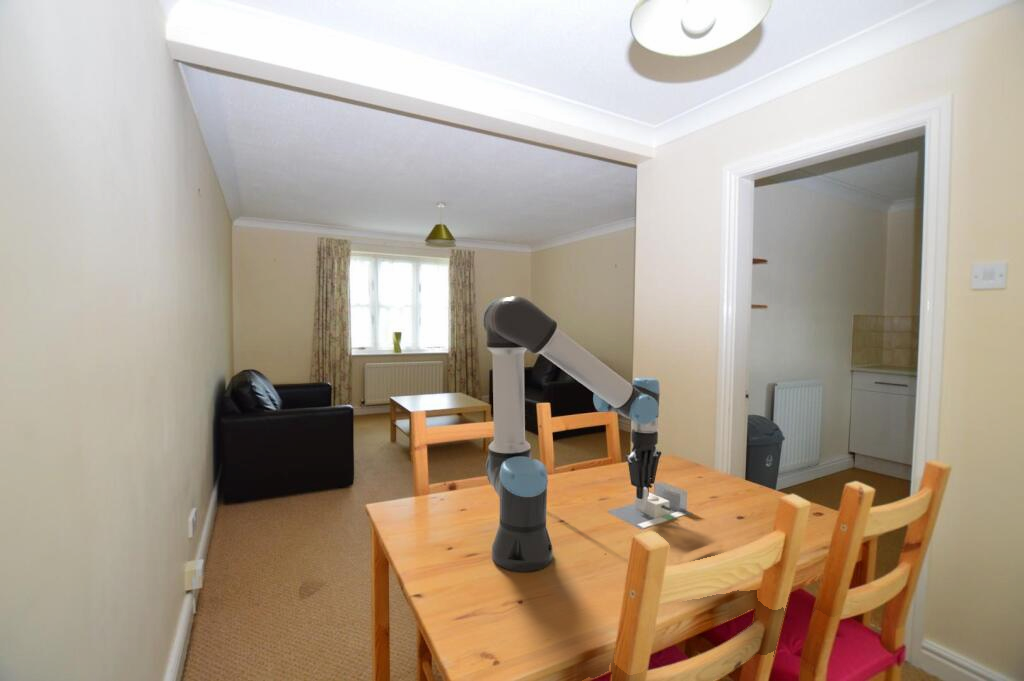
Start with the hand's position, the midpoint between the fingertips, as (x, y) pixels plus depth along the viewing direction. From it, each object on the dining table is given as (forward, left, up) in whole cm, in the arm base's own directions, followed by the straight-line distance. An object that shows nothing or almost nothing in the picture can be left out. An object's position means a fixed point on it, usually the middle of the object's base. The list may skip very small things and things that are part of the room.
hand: (642, 508), depth 139 cm
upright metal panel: (+12, 0, -2) cm, 13 cm away
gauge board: (+3, 0, -3) cm, 4 cm away
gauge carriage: (+4, -1, -2) cm, 5 cm away
